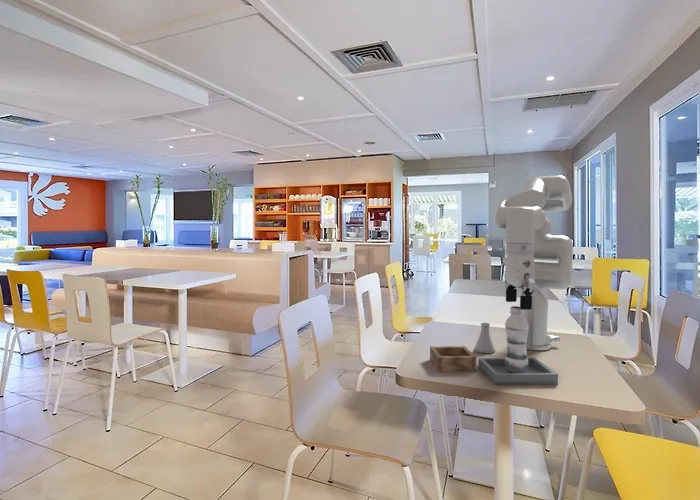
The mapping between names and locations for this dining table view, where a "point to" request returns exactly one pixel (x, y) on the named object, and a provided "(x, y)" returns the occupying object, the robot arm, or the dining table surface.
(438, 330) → the dining table surface
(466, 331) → the dining table surface
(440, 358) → the holder
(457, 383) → the dining table surface
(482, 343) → the flask
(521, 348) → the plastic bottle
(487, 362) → the parts tray
